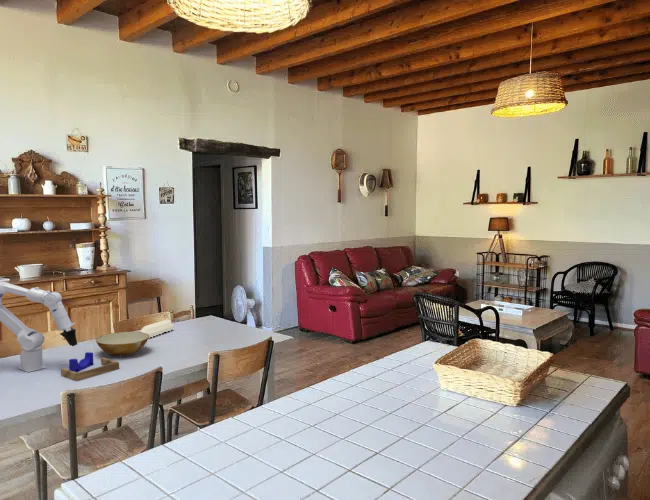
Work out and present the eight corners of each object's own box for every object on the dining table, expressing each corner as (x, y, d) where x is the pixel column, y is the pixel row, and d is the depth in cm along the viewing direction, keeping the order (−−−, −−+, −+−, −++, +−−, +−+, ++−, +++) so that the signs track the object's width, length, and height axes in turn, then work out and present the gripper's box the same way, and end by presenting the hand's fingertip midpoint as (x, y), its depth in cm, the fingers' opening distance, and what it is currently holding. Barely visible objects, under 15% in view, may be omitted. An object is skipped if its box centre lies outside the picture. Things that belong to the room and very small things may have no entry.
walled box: (61, 375, 211) (60, 368, 211) (103, 363, 228) (103, 357, 227) (76, 381, 204) (76, 374, 204) (119, 368, 221) (119, 362, 221)
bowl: (160, 350, 252) (160, 335, 251) (121, 363, 229) (121, 347, 228) (124, 343, 262) (124, 329, 261) (84, 356, 239) (83, 340, 239)
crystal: (149, 333, 270) (177, 324, 292) (141, 326, 272) (169, 317, 294) (144, 344, 272) (172, 334, 294) (135, 336, 274) (164, 327, 296)
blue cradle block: (84, 364, 227) (84, 351, 227) (93, 365, 226) (93, 352, 226) (66, 372, 215) (66, 359, 215) (75, 373, 214) (75, 360, 214)
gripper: (72, 313, 215) (85, 341, 217) (68, 314, 227) (80, 340, 229) (55, 320, 211) (68, 349, 213) (52, 320, 223) (64, 347, 225)
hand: (73, 344), depth 221 cm, fingers open, 7 cm apart
